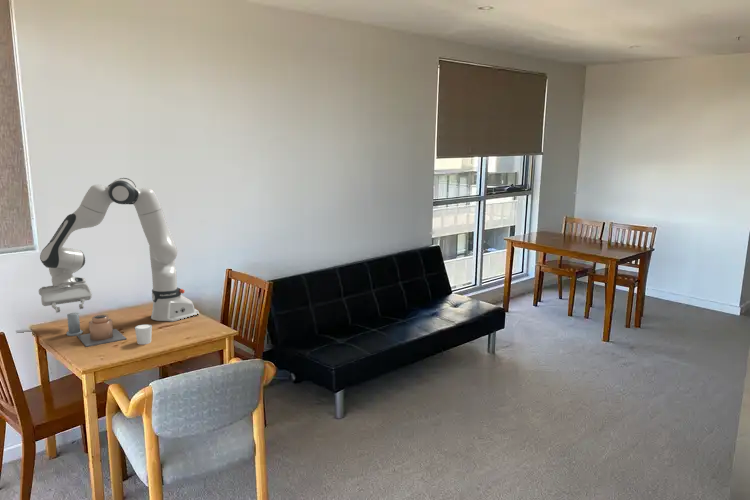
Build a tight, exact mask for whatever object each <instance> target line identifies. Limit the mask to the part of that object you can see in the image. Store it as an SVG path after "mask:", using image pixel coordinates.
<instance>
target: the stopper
mask: <svg viewBox="0 0 750 500" xmlns="http://www.w3.org/2000/svg"><path fill="white" fill-rule="evenodd" d="M67 327H68V330H67V331H66V333H65V334H66V336H68V337H75V336H76V337H77V335H83V334H84V330H83V329H81V324H80V313H79V312H69V313H67Z"/></svg>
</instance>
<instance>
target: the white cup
mask: <svg viewBox="0 0 750 500" xmlns="http://www.w3.org/2000/svg"><path fill="white" fill-rule="evenodd" d="M152 329H153V325H152V324H139V325H136V326H135V327H134V331H135V337H136V342H137V343H136V344H138V345H141V346H142V345H143V346H144V345H148V344H150V343H151V342H152V337H153V336H152V333H153V332H152Z"/></svg>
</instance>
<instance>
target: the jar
mask: <svg viewBox="0 0 750 500" xmlns="http://www.w3.org/2000/svg"><path fill="white" fill-rule="evenodd" d="M88 327H89V333H82V334H80V335H77V336H76V337H77V338H78V339H79V341H80V342H82V344H83V345H84V346H85V348H88V347H93V346H98V345H104V344H109V343H115V342H119V341H121V342H122V341H126V340H127V337H126V336H125V335H123V333H121V332H120V331H119V330H118V329H117V328H113V319H111V318H109V315H107V314H98V315H93V316H92V317H91V320H89V322H88Z"/></svg>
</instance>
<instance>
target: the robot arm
mask: <svg viewBox="0 0 750 500" xmlns="http://www.w3.org/2000/svg"><path fill="white" fill-rule="evenodd" d="M112 203H115V204H118V205H133V206H134V208H135V211H136V214H137V216H138V219H139V222H140V224H141V228H142V230H143V233H144V236H145V238H146V240H147V243H148V245H149V246H148V248H149V259H150V268H151V277H152V278H151V279H152V290H151V292H152V293H151V299H152V311H151V316H150V319H151V320H153V321H158V322H177V321H180V319H181V320H184V318H185V319H188V318H187V317H189V318H191V317H190V316H193V315H197V313H198V314H199V315H200V312H199V310H198V309H196V308H195V306H194V303H193V301H192V300H191V299H189V298H187V297H186V296H185V295H184V293H185V292H186V291H185V290H184V289H183V288H179V287H178V282H177V281H178V280H177V279H178V278H177V277H178V276H177V270H176V269H177V267H176V262H175V260H176V258H177V256H178V249H177V246H176V242H175V240H174V237H173V234H172V233H171V232H172V231H171V230H170V227H169V225H168V222H167V220H166V216H165V213H164V211H163V207H162V205H161V204H162V203H161V202H160V200H159V198H158V196H157V194H156V192H155V191H154V190H153V189H152V188H149V187H143V188H142V187H141V188H137V185H136V184H135V182H134V181H133V180H131V179H130V178H127V177H120V178H117V179H115V180H114V181H112V182H111V183H110V184H108V185H107V186H105V185H102V184H93V185H91V186H90V187H89V188H88V190H87V191H86V193H85V195H84V196H83V198H82V201H81V202H80V204H79V207H78V208H77V209H76V210H74V212H73V213H71V214H68V215H66V217H65V218H64V219H63V221H62V223H61V224H60V225H59V227H58V228H57V230H56V231H55V233H54V235H53V236H52V237H51V239H50V240H49V242H48V243H47V245H46V246H45V247H43V249H42V250H41V252H40V255H39V259H40V262H41V263H42V264H43V266H45V268H48V271H49V274H50V276H51V284H52V285H48V286H41V287H39V289H38V294H39V295H40V298H41V305H42V306H43V307H48V306H51V308H52V309H54V310H55V313H56V314H57V313H61V308H60V306H59V307H58V306H57V305H64V304H71V303H79V302H80V304H78V308H79V310H83V309H84V308H85V307H84V303H85V301H90V300H91V299H92V297H93V293H92V290H91V288H90V286H89V284H88V283H86V281H87V280H86V279H85V277H77V276H73V274H74V273H77V272H78V271H79V270H81V269H82V268H83V267H84V265H85V263H86V257H85V254H84V252H83V251H82V250H79V249H75V248H68V247H63V246H64V245H65V244H66V242H67V241H68V238H69V237H70V235H71V234H72V233H74V232H75V231H78V230H81V229H82V230H83V229H88V228H89V229H90V228H94V227H97V226H98V225H100V224H101V223H102V222H103V221H104V219H105V216H106V214H107V212H108V209H109V207H110V205H112ZM197 316H198V315H197ZM193 317H194V316H193Z"/></svg>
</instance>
